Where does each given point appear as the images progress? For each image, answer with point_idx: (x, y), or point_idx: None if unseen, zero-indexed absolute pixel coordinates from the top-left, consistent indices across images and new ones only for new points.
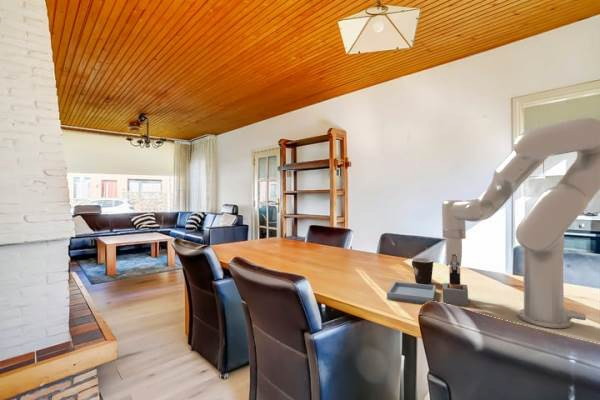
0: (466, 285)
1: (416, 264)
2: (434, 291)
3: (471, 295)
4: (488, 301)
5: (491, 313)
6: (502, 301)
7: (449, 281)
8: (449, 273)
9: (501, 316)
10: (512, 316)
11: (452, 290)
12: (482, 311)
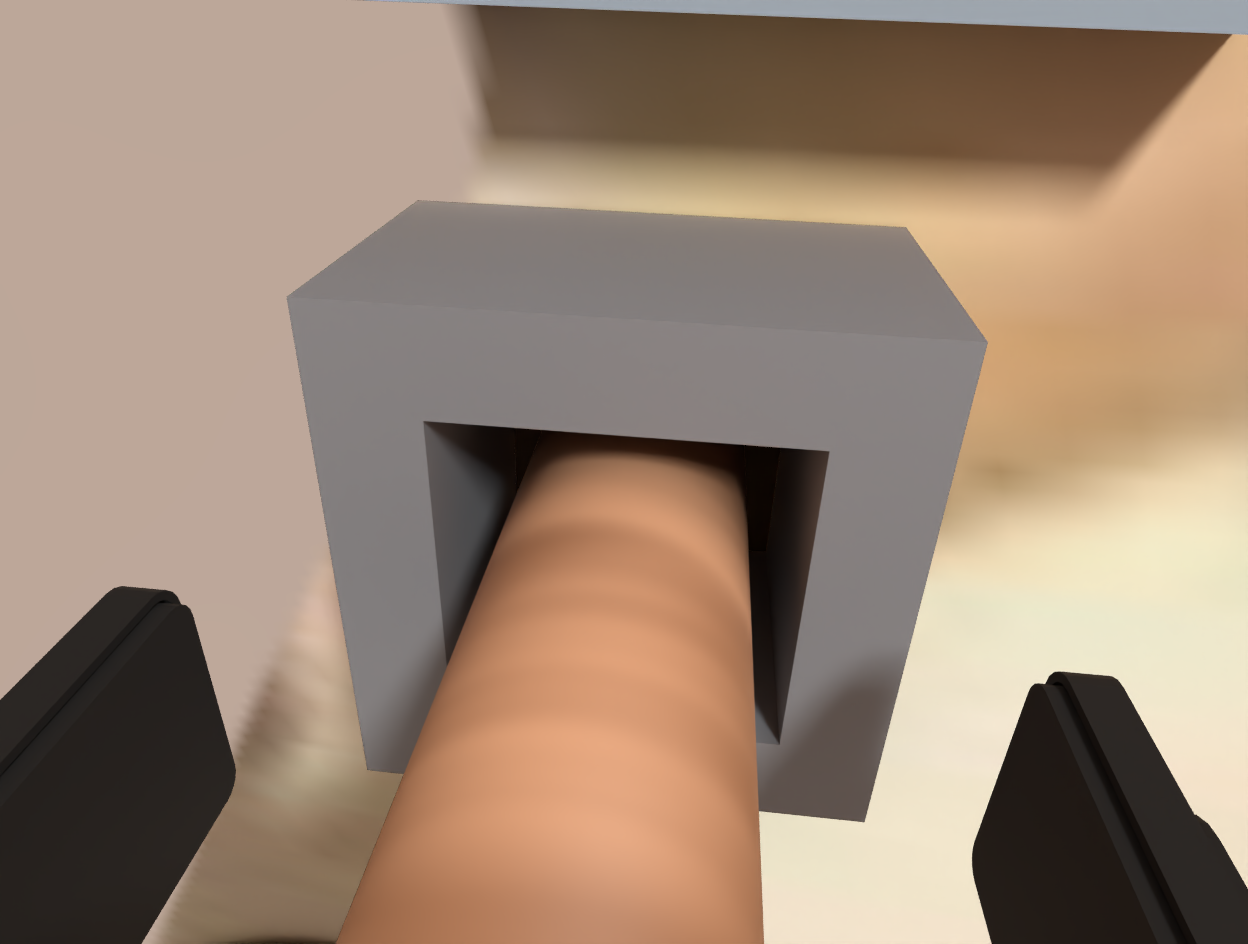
0: (823, 807)
1: None
2: (715, 13)
3: (1025, 689)
4: (760, 824)
5: (280, 769)
6: (810, 940)
7: (580, 571)
8: (492, 804)
9: (240, 828)
10: (303, 903)
11: (329, 514)
12: (296, 702)
